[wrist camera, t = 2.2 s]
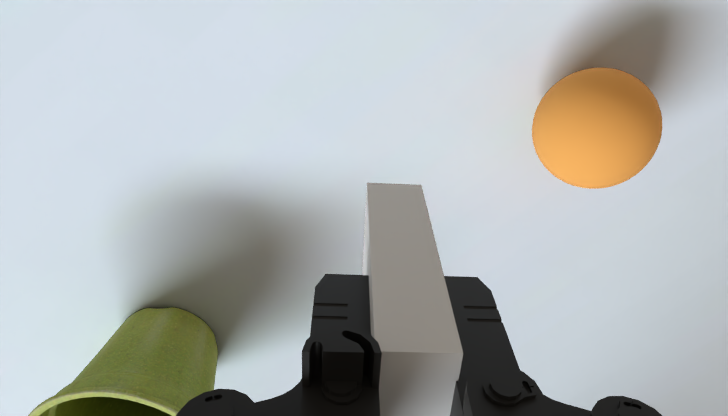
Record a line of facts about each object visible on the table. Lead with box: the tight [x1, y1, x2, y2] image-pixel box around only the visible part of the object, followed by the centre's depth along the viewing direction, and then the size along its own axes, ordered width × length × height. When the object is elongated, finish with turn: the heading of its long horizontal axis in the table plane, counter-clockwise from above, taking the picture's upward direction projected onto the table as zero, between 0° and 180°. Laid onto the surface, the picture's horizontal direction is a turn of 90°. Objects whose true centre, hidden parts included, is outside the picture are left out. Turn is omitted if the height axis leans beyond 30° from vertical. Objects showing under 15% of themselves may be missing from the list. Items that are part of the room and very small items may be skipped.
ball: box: [532, 68, 662, 188], centre depth 25 cm, size 6×6×6 cm
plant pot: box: [28, 307, 218, 416], centre depth 30 cm, size 9×9×9 cm
